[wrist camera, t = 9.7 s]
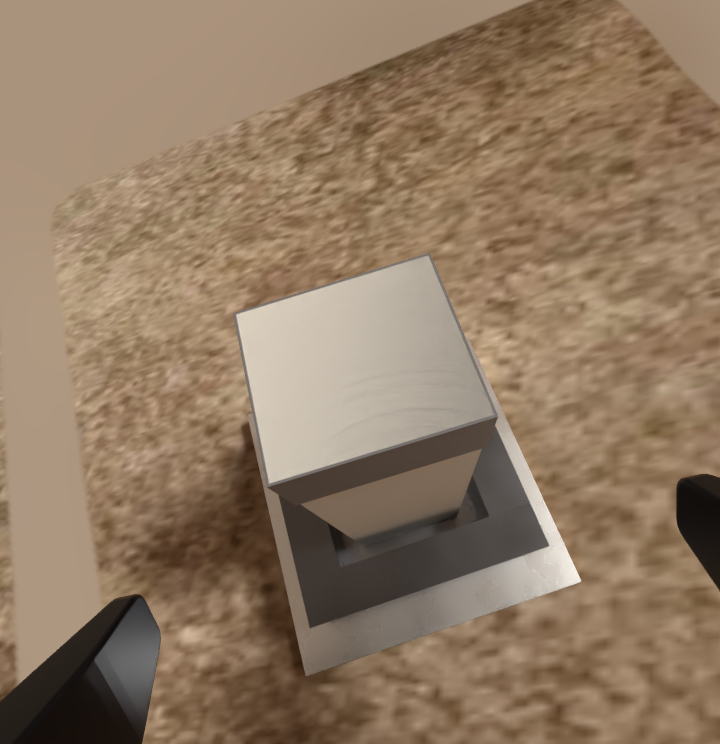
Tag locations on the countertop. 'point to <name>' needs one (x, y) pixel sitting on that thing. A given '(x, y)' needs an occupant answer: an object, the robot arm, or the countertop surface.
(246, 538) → the countertop surface
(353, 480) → the plug block
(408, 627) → the socket plate
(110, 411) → the countertop surface
